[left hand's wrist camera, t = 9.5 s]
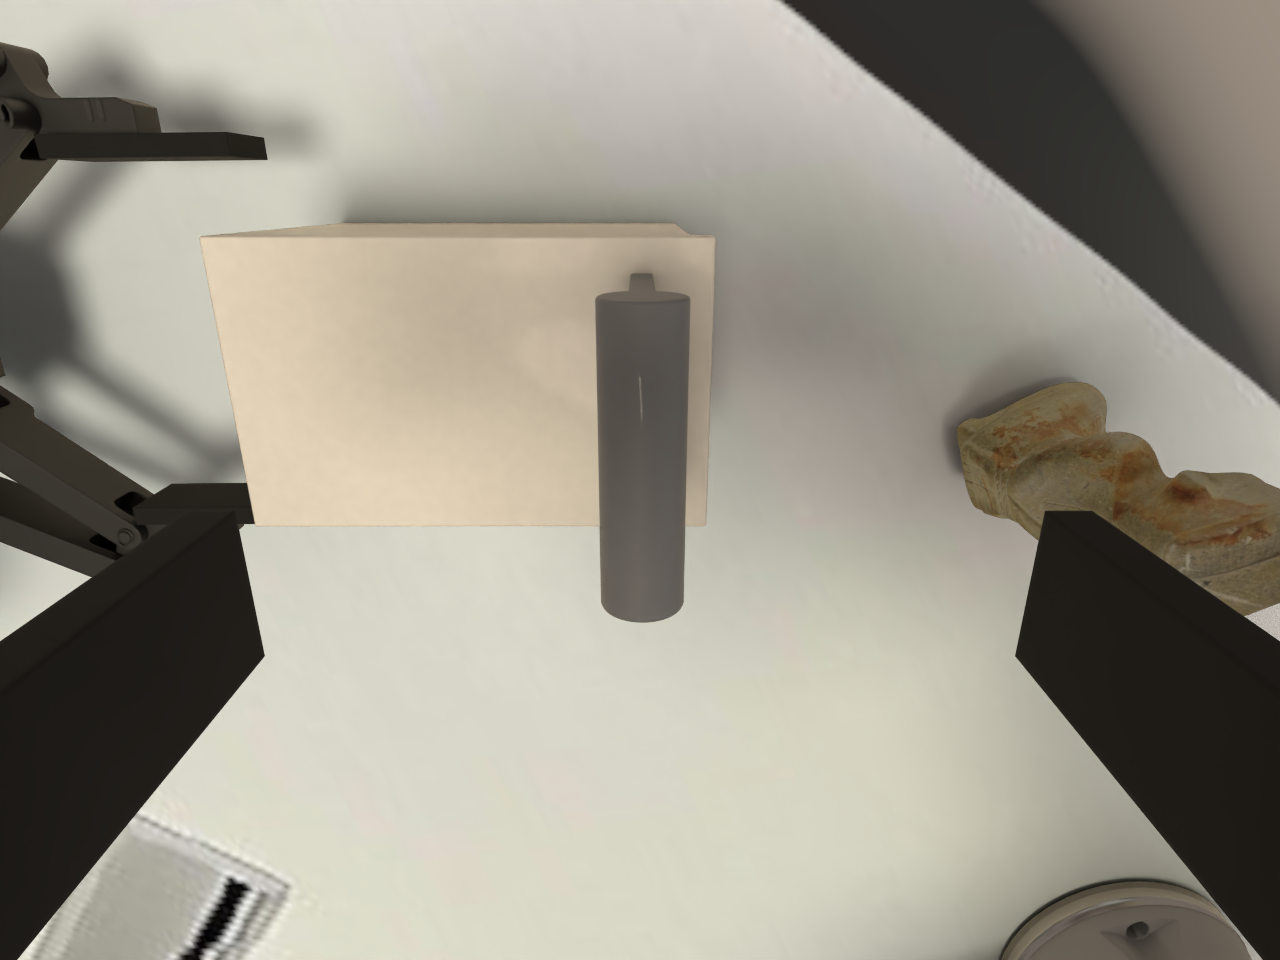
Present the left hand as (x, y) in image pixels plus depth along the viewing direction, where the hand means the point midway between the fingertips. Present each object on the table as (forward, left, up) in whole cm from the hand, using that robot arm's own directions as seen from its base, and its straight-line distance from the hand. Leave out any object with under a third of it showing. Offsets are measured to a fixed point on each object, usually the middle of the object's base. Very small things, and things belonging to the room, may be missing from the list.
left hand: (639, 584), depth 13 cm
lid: (+5, +3, -14) cm, 15 cm away
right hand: (+12, +7, -18) cm, 23 cm away
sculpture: (-18, -6, -25) cm, 31 cm away
